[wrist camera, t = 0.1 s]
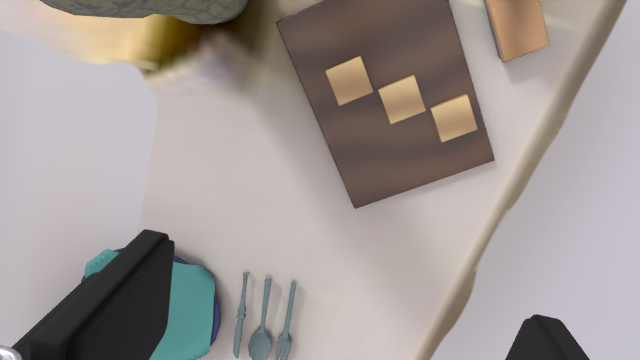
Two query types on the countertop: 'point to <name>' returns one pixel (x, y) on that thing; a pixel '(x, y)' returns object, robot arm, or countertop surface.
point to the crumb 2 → (402, 99)
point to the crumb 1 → (349, 80)
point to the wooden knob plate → (516, 27)
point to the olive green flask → (155, 9)
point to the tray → (383, 69)
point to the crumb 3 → (453, 118)
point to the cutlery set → (202, 314)
